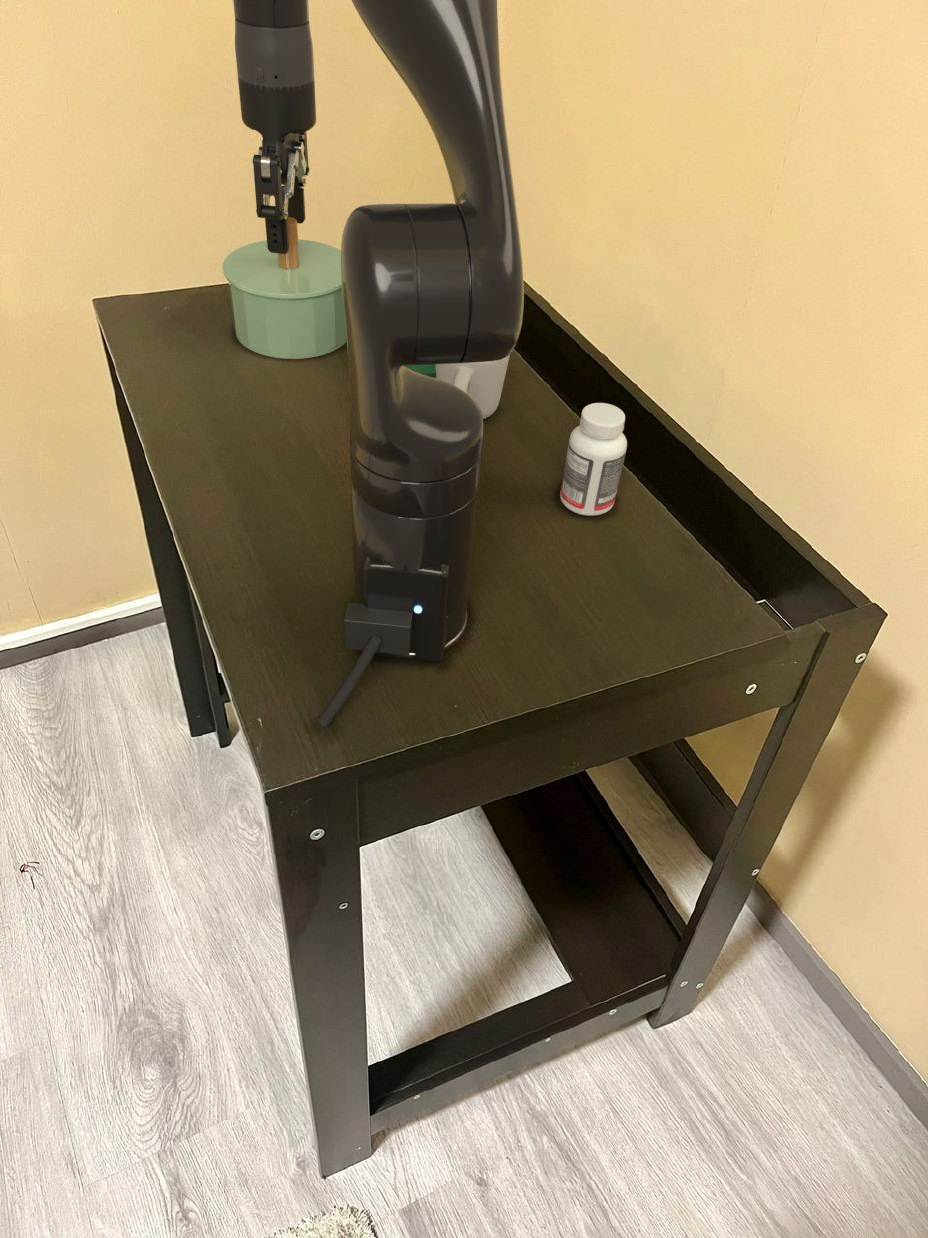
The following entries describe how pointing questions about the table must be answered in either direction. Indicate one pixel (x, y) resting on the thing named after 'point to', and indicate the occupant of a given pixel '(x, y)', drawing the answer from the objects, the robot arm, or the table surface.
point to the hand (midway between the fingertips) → (287, 236)
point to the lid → (285, 268)
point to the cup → (477, 381)
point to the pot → (289, 324)
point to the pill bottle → (594, 460)
